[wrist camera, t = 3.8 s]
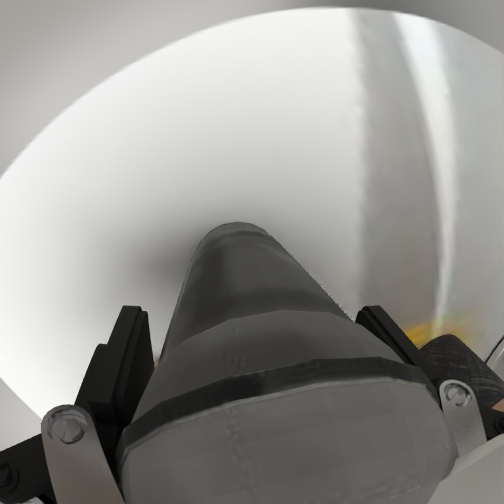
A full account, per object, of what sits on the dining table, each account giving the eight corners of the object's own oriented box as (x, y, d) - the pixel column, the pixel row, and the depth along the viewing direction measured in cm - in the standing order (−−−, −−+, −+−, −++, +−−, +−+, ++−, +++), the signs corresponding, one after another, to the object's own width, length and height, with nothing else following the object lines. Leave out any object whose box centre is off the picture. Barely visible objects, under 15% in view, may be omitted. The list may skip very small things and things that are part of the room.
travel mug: (380, 388, 22) (482, 574, 3) (441, 319, 20) (587, 493, 2) (420, 400, 24) (507, 542, 6) (470, 344, 22) (581, 477, 4)
